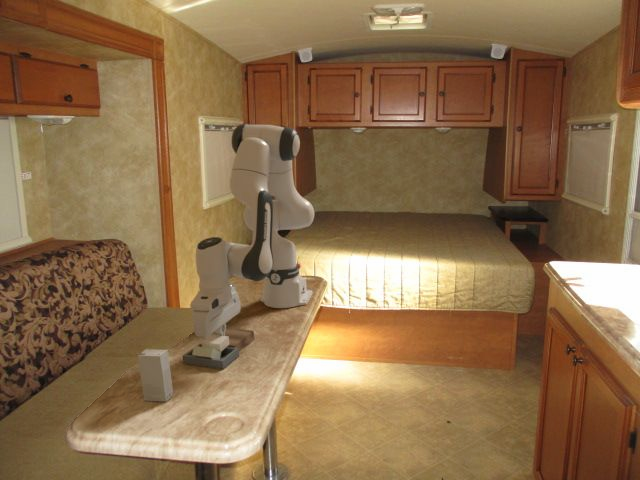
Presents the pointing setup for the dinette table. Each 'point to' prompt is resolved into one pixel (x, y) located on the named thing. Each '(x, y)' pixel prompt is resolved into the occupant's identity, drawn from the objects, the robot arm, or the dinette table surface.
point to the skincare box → (155, 375)
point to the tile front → (206, 352)
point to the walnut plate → (239, 337)
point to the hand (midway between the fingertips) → (221, 338)
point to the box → (225, 359)
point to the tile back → (216, 342)
